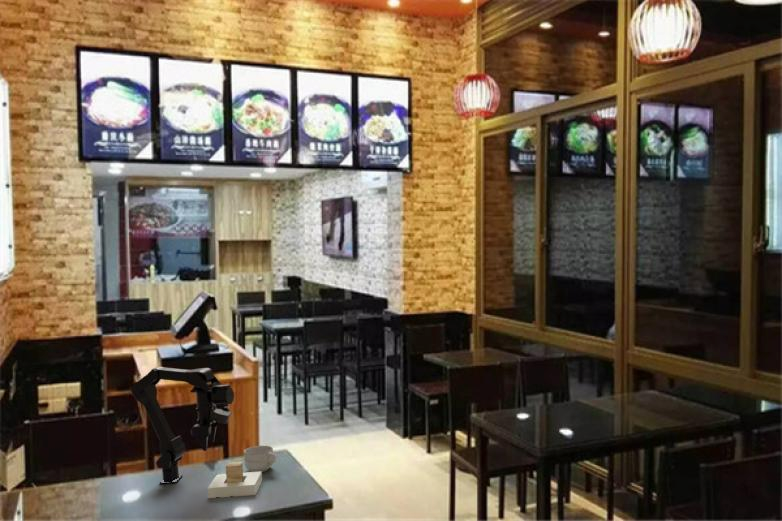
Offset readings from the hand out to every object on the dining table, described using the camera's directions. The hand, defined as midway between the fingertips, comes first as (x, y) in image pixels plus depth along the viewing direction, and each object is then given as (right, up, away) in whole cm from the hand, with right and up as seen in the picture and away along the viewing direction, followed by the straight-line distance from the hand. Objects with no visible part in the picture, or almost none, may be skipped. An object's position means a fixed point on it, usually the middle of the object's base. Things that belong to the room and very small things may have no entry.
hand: (208, 446), depth 226 cm
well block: (+12, -13, -8) cm, 19 cm away
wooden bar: (+12, -13, -8) cm, 19 cm away
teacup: (+18, -12, +8) cm, 23 cm away
